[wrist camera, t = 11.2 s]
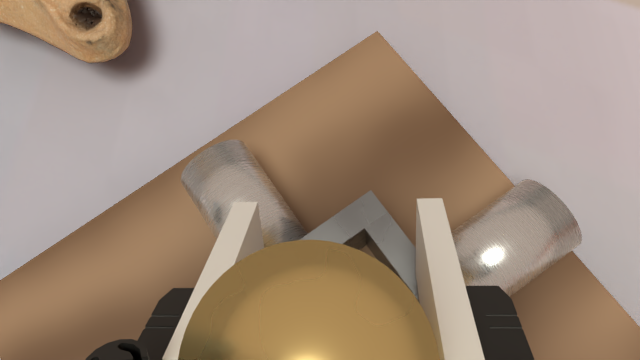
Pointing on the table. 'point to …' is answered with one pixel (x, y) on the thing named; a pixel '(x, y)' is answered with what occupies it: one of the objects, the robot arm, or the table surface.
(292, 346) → the cylinder
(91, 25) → the pottery oil lamp
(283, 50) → the table surface
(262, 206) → the socket housing
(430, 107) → the mounting board
